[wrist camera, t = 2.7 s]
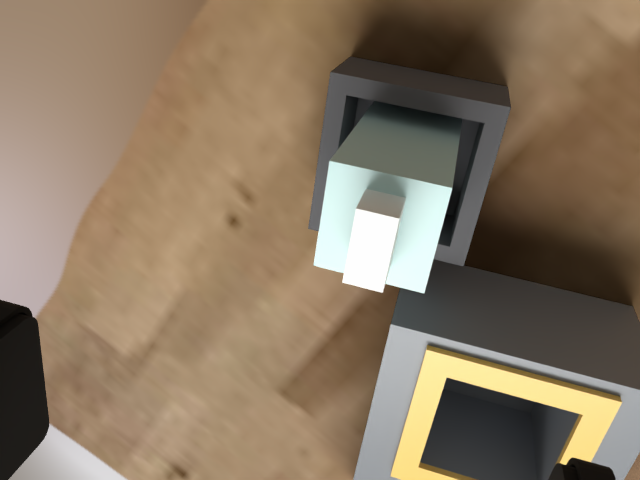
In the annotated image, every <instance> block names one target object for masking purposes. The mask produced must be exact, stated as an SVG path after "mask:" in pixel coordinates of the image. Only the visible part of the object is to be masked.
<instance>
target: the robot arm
mask: <svg viewBox="0 0 640 480" xmlns="http://www.w3.org/2000/svg"><path fill="white" fill-rule="evenodd" d="M48 428H49V416H48V407H47V398H46V390H45V381H44V372H43V363H42V355H41V346H40V337H39V329H38V322H37V320H36V319H35V318H34V317H32V313H31V311H30V309H29V308H27V307H24V306H20V305H17V304H13V303H10V302H6V301H2V300H0V480H8V479H9V478H10V477H11V476H12V475H13V474H14V472H15V471H16V470H17V469H18V468H19V467H20V466H21V465H22V463H23V462H24V461H25V460H26V459H27V458H28V457H29V456H30V455H31V453H32V452H33V451H34V450H35V449H36V448H37V447H38V446H39V444H40V443H41V442H42V441H43V439H44V438H45V436H46V433H47V431H48ZM548 480H616V478H615V475H614V473H613V470H612V469H611V468H610V467H606V466H603V465H599V464H596V463H592V462H588V461H585V460H581V459H577V458H571V459H569V461H568V462H567V464H566V465H564V464H561V463H557V464H556V465H555V466H554V468H553V470H552V472H551V474H550V477H549V479H548Z"/></svg>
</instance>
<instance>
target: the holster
mask: <svg viewBox="0 0 640 480" xmlns="http://www.w3.org/2000/svg"><path fill="white" fill-rule="evenodd" d="M374 101H378V102H383V103H388V104H393V105H398V106H403V107H407V108H412V109H417V110H422V111H427V112H432V113H437V114H442V115H447V116H452V117H457V118H462V126H461V133H460V140H459V147H458V154H457V160H456V167H455V174H454V181H453V188H452V192H451V195H450V199H449V203H448V207H447V210H446V214H445V218H444V222H443V225H442V229H441V233H440V237H439V240H438V244H437V248H436V252H435V255H434V259H435V260H439V261H443V262H447V263H451V264H455V265H460V266H464V263H465V260H466V256H467V253H468V250H469V246H470V243H471V240H472V236H473V233H474V230H475V226H476V223H477V219H478V216H479V213H480V209H481V206H482V203H483V199H484V196H485V193H486V189H487V186H488V183H489V179H490V176H491V173H492V169H493V166H494V163H495V159H496V156H497V152H498V149H499V146H500V142H501V139H502V136H503V132H504V129H505V126H506V122H507V119H508V116H509V112H510V109H511V105H510V98H509V92H508V87H507V86H502V85H497V84H492V83H486V82H481V81H476V80H471V79H465V78H460V77H455V76H450V75H445V74H439V73H434V72H429V71H424V70H418V69H413V68H408V67H403V66H397V65H392V64H387V63H382V62H376V61H371V60H366V59H361V58H356V57H349V58H348V59H347V60H345V61H344V62H343V63H342V64H340V65H339V66H338V67H336V68H335V69H334V70H333V71H331V72H330V79H329V86H328V93H327V100H326V108H325V115H324V122H323V129H322V136H321V143H320V150H319V157H318V164H317V171H316V178H315V185H314V192H313V199H312V206H311V213H310V220H309V227H308V229H312V230H316V231H319V227H320V220H321V213H322V207H323V200H324V194H325V187H326V181H327V174H328V167H329V161H330V159H331V158H332V157H333V155H334V154H335V153H336V151H337V150H338V149H339V147H340V146H341V145H342V143H343V142H344V141H345V139H346V138H347V137H348V135H349V134H350V133H351V131H352V130H353V129H354V127H355V126H356V125H357V123H358V122H359V121H360V119H361V118H362V117H363V115H364V114H365V113H366V111H367V110H368V109H369V107H370V106H371V105H372V103H373V102H374Z"/></svg>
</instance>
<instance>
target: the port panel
mask: <svg viewBox="0 0 640 480" xmlns="http://www.w3.org/2000/svg"><path fill="white" fill-rule="evenodd" d="M639 452H640V322H639V320H638V318H637V315H636V313H635V310H634V308H633V306H629V305H625V304H621V303H617V302H612V301H608V300H604V299H600V298H596V297H592V296H588V295H584V294H580V293H575V292H571V291H567V290H563V289H559V288H555V287H551V286H547V285H543V284H538V283H534V282H530V281H526V280H522V279H518V278H514V277H510V276H505V275H501V274H497V273H493V272H489V271H485V270H481V269H477V268H473V267H468V266H460V265H455V264H451V263H447V262H443V261H439V260H435V259H433V263H432V267H431V270H430V274H429V278H428V281H427V285H426V289H425V293H420V292H416V291H412V290H408V289H404V288H400V291H399V294H398V298H397V302H396V306H395V310H394V314H393V318H392V322H391V326H390V330H389V334H388V338H387V342H386V346H385V351H384V355H383V359H382V363H381V367H380V371H379V375H378V380H377V384H376V388H375V392H374V396H373V400H372V404H371V409H370V413H369V417H368V421H367V425H366V429H365V433H364V438H363V442H362V446H361V450H360V454H359V458H358V462H357V467H356V471H355V475H354V479H353V480H548V479H549V477H550V474H551V472H552V470H553V468H554V466H555V465H556V464H557V463H561V464H564V465H566V464H567V462H568V461H569V459H571V458H577V459H581V460H585V461H588V462H592V463H596V464H599V465H603V466H606V467H610V468H611V469H612V470H613V473H614V475H615V478H616V480H624V478H625V477H626V475H627V473H628V472H629V470H630V468H631V466H632V465H633V463H634V461H635V459H636V458H637V456H638V454H639Z"/></svg>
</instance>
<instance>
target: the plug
mask: <svg viewBox="0 0 640 480" xmlns="http://www.w3.org/2000/svg"><path fill="white" fill-rule="evenodd" d="M461 126H462V118H457V117H452V116H447V115H442V114H437V113H432V112H427V111H422V110H417V109H412V108H407V107H403V106H398V105H393V104H388V103H383V102H378V101H374V102H373V103H372V105H371V106H370V107H369V109H368V110H367V111H366V113H365V114H364V115H363V117H362V118H361V119H360V121H359V122H358V123H357V125H356V126H355V127H354V129H353V130H352V131H351V133H350V134H349V135H348V137H347V138H346V139H345V141H344V142H343V143H342V145H341V146H340V147H339V149H338V150H337V151H336V153H335V154H334V155H333V157H332V158H331V159H330V161H329V167H328V174H327V181H326V187H325V194H324V200H323V207H322V213H321V220H320V227H319V233H318V240H317V246H316V253H315V259H314V266H317V267H321V268H325V269H329V270H333V271H337V272H341V273H344V276H343V281H342V283H346V284H350V285H354V286H358V287H362V288H366V289H370V290H374V291H378V292H381V293H383V290H384V287H385V284H388V285H392V286H396V287H400V288H404V289H408V290H412V291H416V292H420V293H425V289H426V285H427V281H428V278H429V274H430V270H431V267H432V263H433V259H434V255H435V252H436V248H437V244H438V240H439V237H440V233H441V229H442V225H443V222H444V218H445V214H446V210H447V207H448V203H449V199H450V195H451V192H452V188H453V181H454V174H455V167H456V160H457V154H458V147H459V140H460V133H461Z"/></svg>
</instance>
